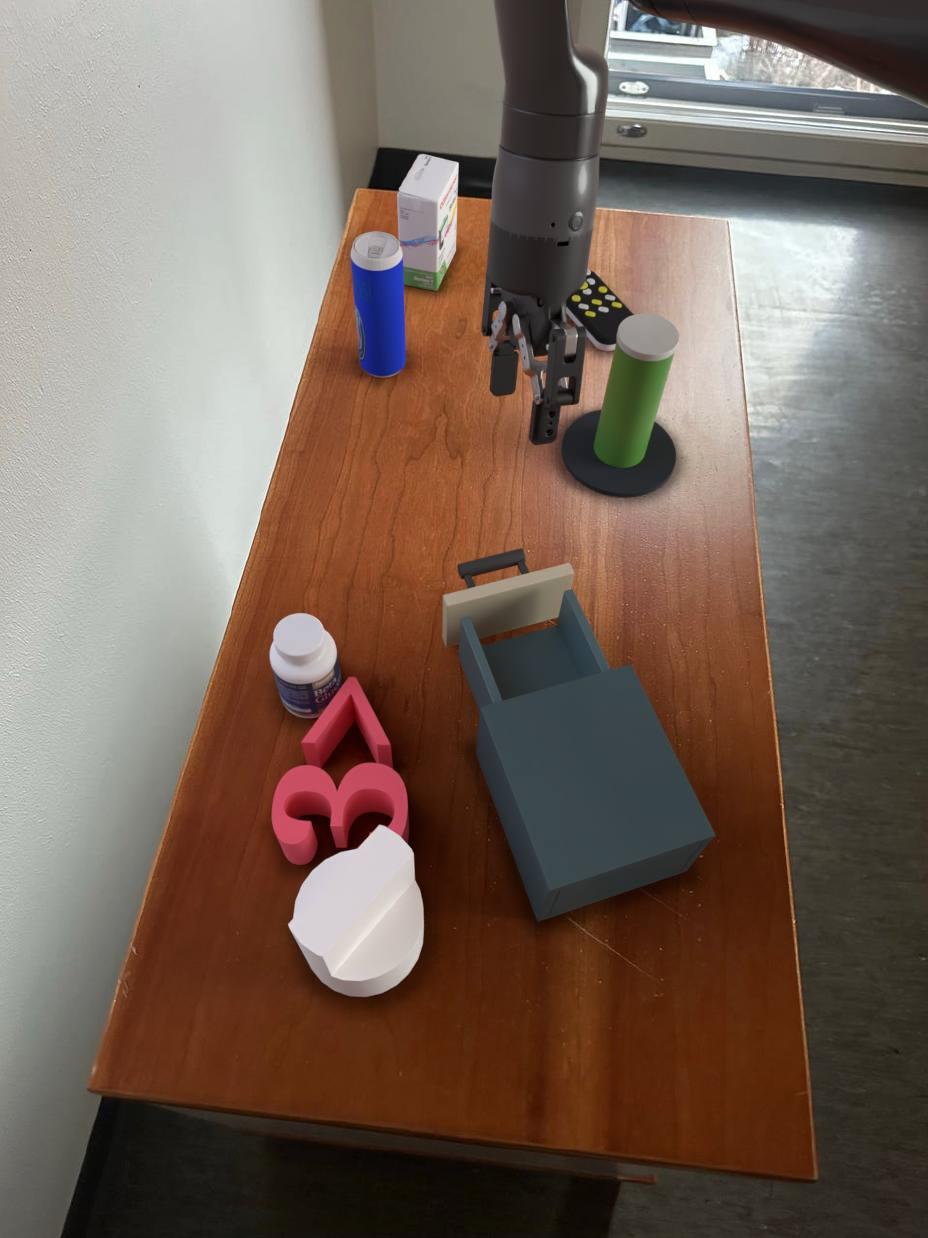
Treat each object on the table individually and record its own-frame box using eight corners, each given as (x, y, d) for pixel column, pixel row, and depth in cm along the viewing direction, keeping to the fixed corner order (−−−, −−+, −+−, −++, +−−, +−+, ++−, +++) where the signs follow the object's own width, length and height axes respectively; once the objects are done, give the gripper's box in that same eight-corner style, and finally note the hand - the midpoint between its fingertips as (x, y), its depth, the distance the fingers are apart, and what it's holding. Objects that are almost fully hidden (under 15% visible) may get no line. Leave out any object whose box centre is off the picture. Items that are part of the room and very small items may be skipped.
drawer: (428, 599, 82) (427, 555, 76) (543, 570, 84) (551, 525, 79) (491, 771, 73) (497, 736, 68) (618, 732, 76) (634, 695, 70)
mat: (646, 402, 98) (647, 398, 98) (694, 482, 92) (696, 478, 92) (544, 425, 96) (544, 421, 95) (587, 508, 90) (588, 505, 89)
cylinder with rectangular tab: (361, 850, 70) (349, 793, 60) (448, 925, 68) (451, 879, 57) (278, 940, 67) (251, 896, 56) (367, 1025, 64) (355, 994, 54)
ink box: (437, 292, 107) (438, 201, 97) (398, 284, 108) (395, 192, 98) (457, 250, 111) (460, 158, 101) (419, 242, 112) (418, 150, 102)
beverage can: (363, 346, 101) (354, 226, 89) (408, 350, 101) (405, 231, 89) (356, 378, 99) (345, 259, 86) (402, 382, 99) (398, 264, 86)
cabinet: (475, 753, 75) (480, 706, 68) (612, 712, 78) (631, 663, 70) (537, 922, 68) (550, 890, 61) (686, 871, 70) (715, 835, 63)
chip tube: (650, 436, 95) (684, 320, 82) (640, 474, 92) (674, 360, 79) (598, 424, 95) (624, 307, 83) (587, 461, 92) (612, 346, 80)
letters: (300, 702, 77) (292, 674, 73) (417, 707, 77) (416, 679, 73) (276, 864, 70) (266, 843, 65) (406, 869, 70) (405, 849, 65)
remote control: (601, 356, 102) (604, 342, 100) (544, 291, 108) (546, 277, 106) (646, 340, 104) (649, 326, 102) (587, 277, 109) (590, 262, 108)
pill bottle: (327, 729, 76) (314, 673, 68) (270, 708, 77) (250, 651, 69) (353, 676, 79) (344, 617, 70) (298, 657, 80) (282, 596, 71)
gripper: (459, 189, 68) (450, 384, 79) (534, 253, 59) (513, 467, 69) (548, 184, 71) (528, 374, 81) (635, 245, 61) (599, 453, 71)
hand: (521, 417), depth 75 cm, fingers open, 8 cm apart
